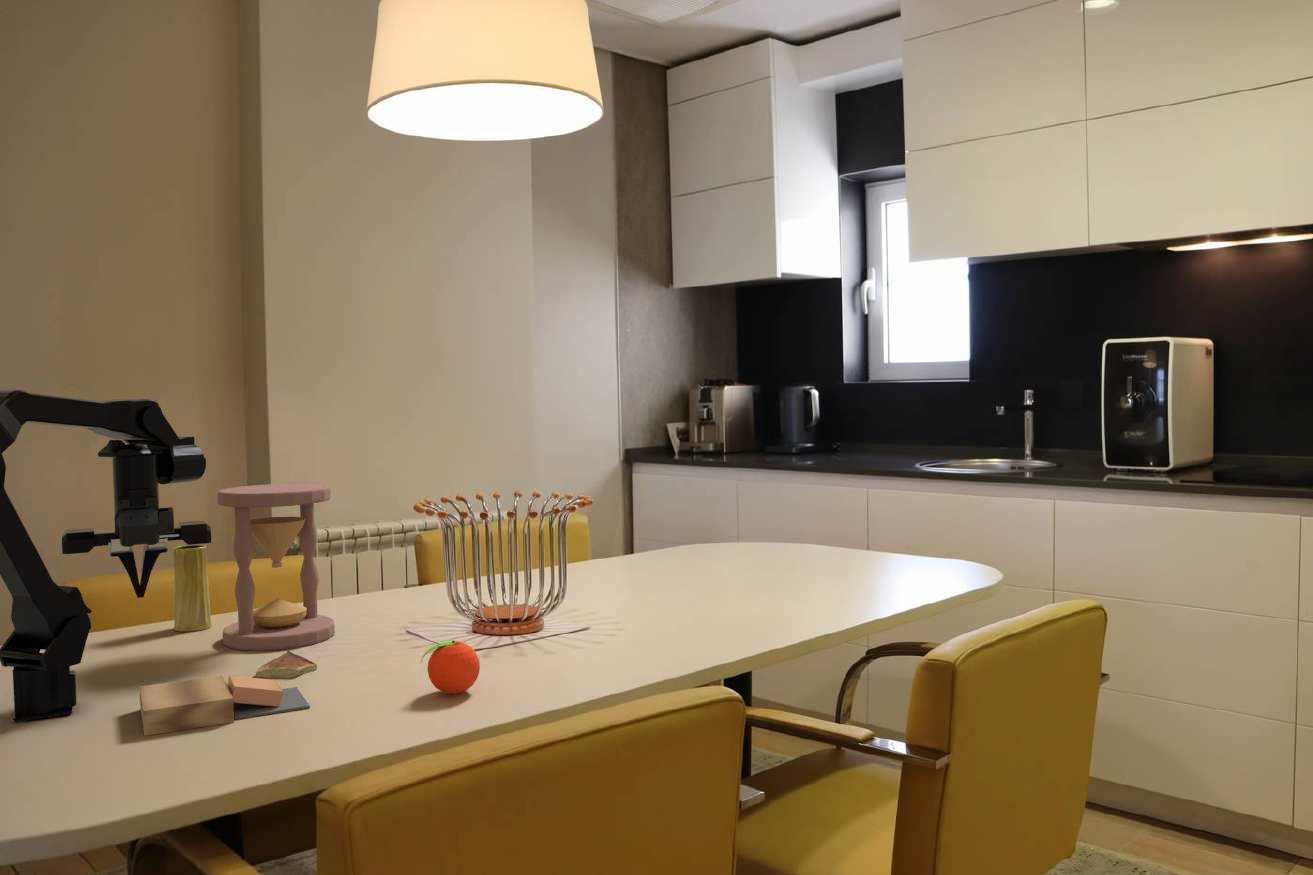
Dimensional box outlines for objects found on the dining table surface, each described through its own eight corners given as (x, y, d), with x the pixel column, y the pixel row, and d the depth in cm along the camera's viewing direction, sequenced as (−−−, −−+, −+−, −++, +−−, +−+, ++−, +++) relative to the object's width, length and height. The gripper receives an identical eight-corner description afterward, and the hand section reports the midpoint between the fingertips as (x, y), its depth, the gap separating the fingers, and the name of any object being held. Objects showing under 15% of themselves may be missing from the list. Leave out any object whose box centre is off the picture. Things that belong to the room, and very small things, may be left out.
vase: (167, 628, 183) (164, 547, 183) (202, 622, 188) (199, 542, 187) (182, 633, 179) (179, 550, 179) (218, 627, 184) (215, 546, 183)
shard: (288, 660, 162) (288, 649, 162) (336, 661, 161) (335, 650, 161) (253, 680, 151) (253, 668, 151) (304, 681, 151) (304, 669, 150)
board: (144, 735, 126) (143, 710, 126) (140, 709, 137) (139, 686, 136) (234, 722, 131) (233, 698, 131) (223, 697, 141) (222, 675, 141)
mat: (235, 719, 132) (235, 717, 132) (226, 699, 141) (226, 696, 141) (309, 708, 136) (309, 705, 136) (296, 689, 145) (296, 686, 145)
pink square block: (231, 702, 133) (234, 686, 133) (225, 690, 138) (229, 675, 138) (279, 706, 136) (283, 691, 136) (272, 695, 141) (276, 680, 141)
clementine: (426, 704, 137) (424, 650, 136) (415, 690, 143) (414, 638, 143) (486, 696, 140) (485, 643, 140) (473, 683, 146) (472, 632, 146)
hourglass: (254, 657, 163) (248, 495, 162) (203, 640, 175) (198, 489, 173) (355, 636, 176) (350, 486, 175) (301, 621, 188) (297, 481, 186)
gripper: (58, 496, 137) (63, 615, 138) (213, 488, 146) (217, 599, 147) (60, 490, 147) (65, 600, 148) (205, 482, 156) (209, 587, 157)
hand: (140, 597), depth 150 cm, fingers closed
